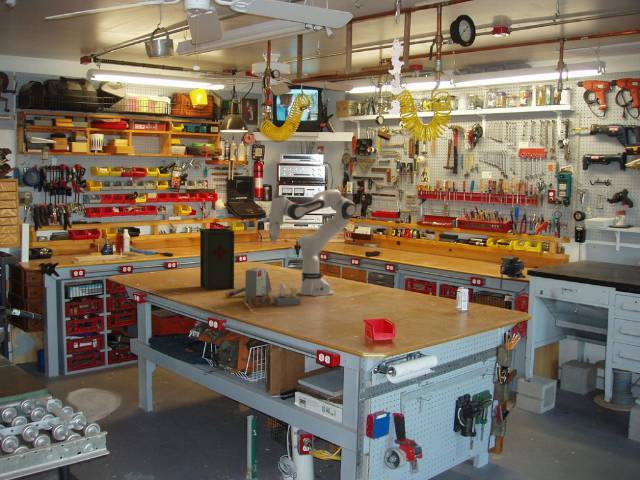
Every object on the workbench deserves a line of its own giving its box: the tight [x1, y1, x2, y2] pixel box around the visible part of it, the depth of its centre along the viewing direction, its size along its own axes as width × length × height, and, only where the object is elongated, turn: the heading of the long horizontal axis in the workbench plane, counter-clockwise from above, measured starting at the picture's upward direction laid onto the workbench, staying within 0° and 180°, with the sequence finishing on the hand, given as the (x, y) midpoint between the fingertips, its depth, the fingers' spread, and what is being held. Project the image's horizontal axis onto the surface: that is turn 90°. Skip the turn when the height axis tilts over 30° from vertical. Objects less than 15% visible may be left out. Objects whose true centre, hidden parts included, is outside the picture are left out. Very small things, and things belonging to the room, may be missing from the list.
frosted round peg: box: [279, 283, 286, 298], centre depth 393 cm, size 3×3×12 cm
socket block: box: [273, 294, 301, 307], centre depth 394 cm, size 14×10×5 cm
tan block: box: [289, 287, 298, 298], centre depth 395 cm, size 3×5×6 cm, turn 16°
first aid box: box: [199, 227, 235, 292], centre depth 446 cm, size 18×18×40 cm
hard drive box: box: [244, 267, 267, 303], centre depth 406 cm, size 16×8×20 cm, turn 162°
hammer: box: [225, 271, 273, 299], centre depth 421 cm, size 15×8×30 cm
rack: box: [247, 294, 272, 310], centre depth 389 cm, size 12×10×6 cm
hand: (272, 242), depth 412 cm, fingers open, 8 cm apart
